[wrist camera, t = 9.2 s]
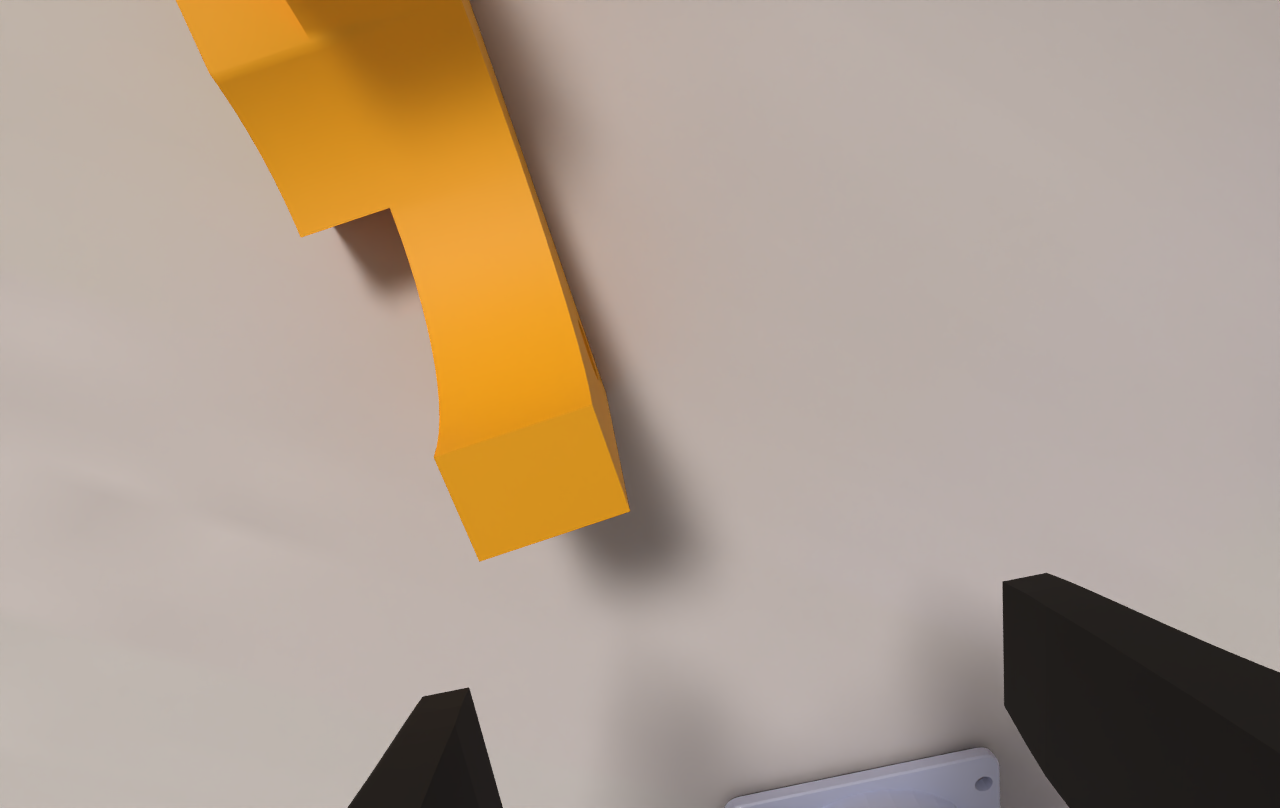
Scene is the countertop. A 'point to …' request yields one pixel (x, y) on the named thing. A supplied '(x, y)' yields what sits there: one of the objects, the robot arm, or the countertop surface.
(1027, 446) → the countertop surface
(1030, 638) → the robot arm
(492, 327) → the pipe clamp
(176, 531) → the countertop surface
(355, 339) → the countertop surface
